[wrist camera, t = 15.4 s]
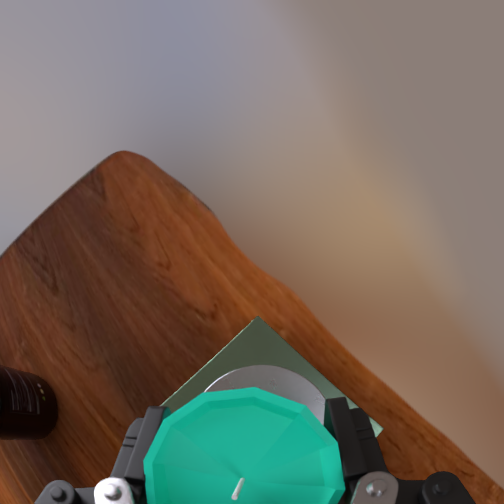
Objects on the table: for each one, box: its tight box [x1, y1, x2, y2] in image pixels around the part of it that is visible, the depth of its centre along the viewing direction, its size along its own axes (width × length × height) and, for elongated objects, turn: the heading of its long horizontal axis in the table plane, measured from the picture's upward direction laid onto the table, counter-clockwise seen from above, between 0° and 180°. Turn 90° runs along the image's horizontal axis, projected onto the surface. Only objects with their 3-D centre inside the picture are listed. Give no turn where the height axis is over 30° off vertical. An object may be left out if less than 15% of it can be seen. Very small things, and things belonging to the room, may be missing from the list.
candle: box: [143, 387, 345, 504], centre depth 11 cm, size 6×6×12 cm
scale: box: [160, 316, 384, 437], centre depth 21 cm, size 13×12×3 cm
